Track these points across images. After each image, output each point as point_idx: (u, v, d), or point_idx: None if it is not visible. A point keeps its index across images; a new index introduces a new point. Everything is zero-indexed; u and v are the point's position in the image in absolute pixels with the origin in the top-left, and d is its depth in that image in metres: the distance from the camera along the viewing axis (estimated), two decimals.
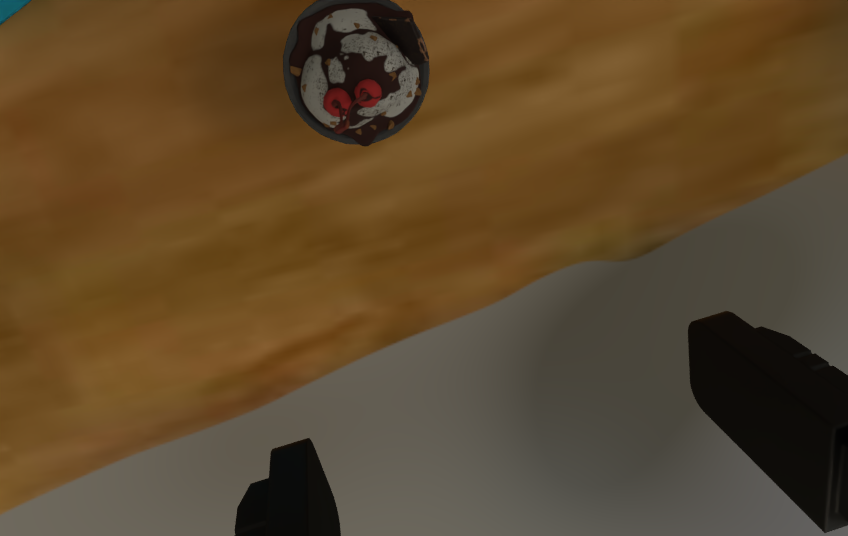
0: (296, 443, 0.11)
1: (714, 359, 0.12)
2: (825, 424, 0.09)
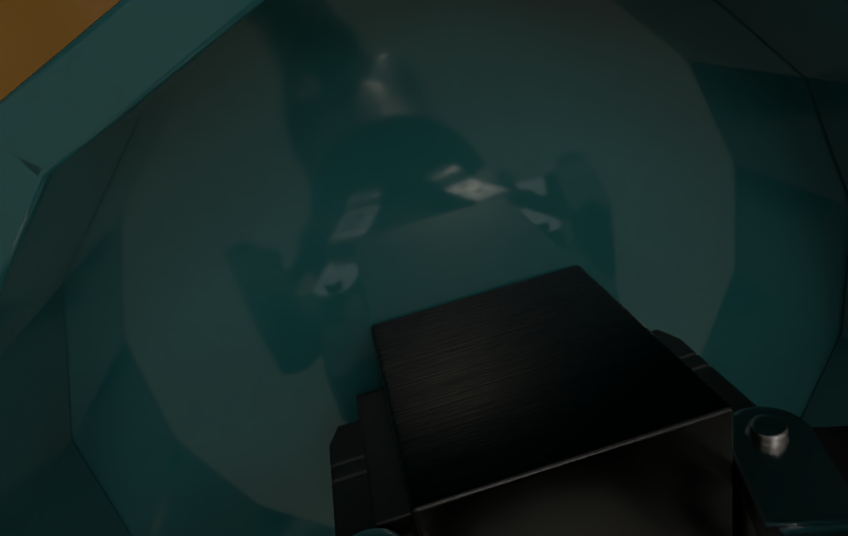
0: (379, 389, 0.12)
1: None
2: None
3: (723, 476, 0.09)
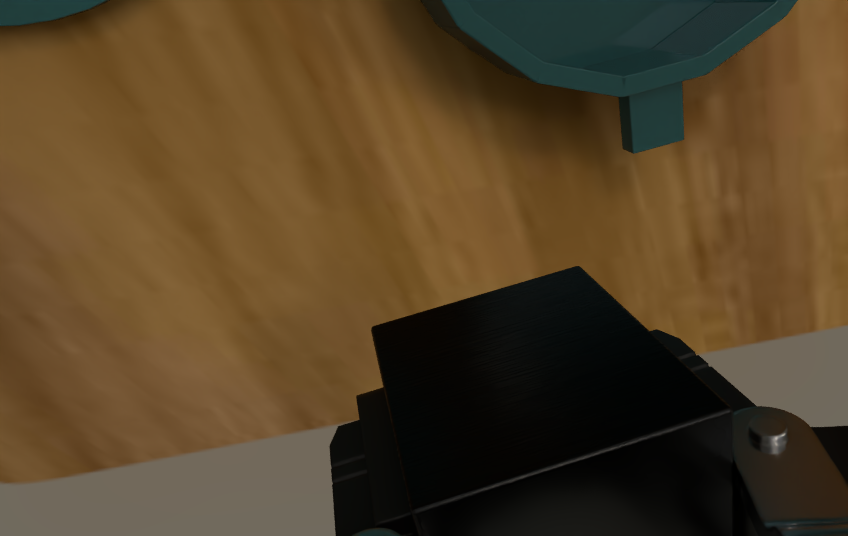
0: (379, 389, 0.12)
1: None
2: None
3: (724, 478, 0.09)
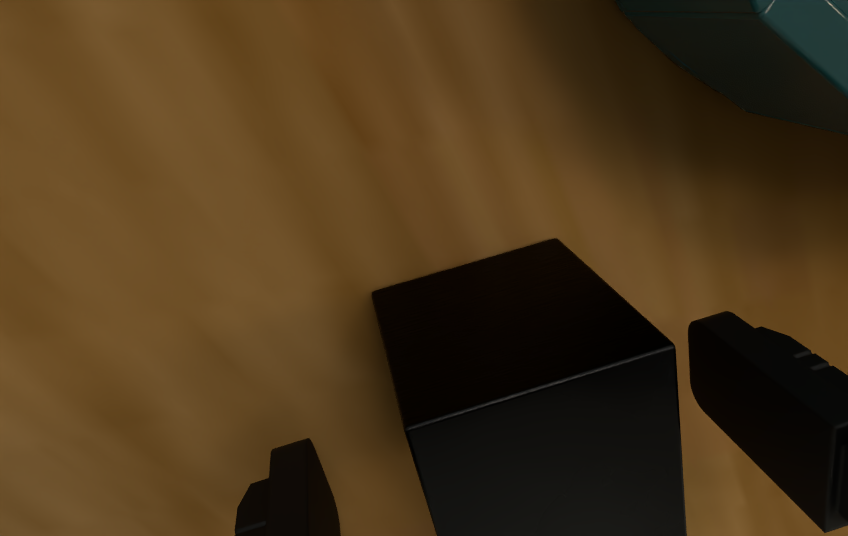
0: (296, 443, 0.11)
1: (714, 359, 0.12)
2: (825, 424, 0.09)
3: (670, 406, 0.10)
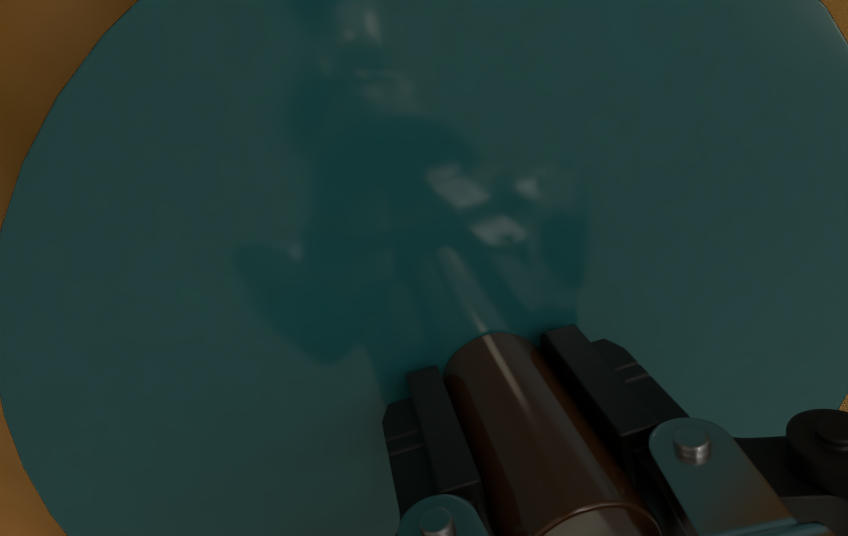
0: (427, 368, 0.12)
1: (556, 369, 0.12)
2: (616, 431, 0.10)
3: None
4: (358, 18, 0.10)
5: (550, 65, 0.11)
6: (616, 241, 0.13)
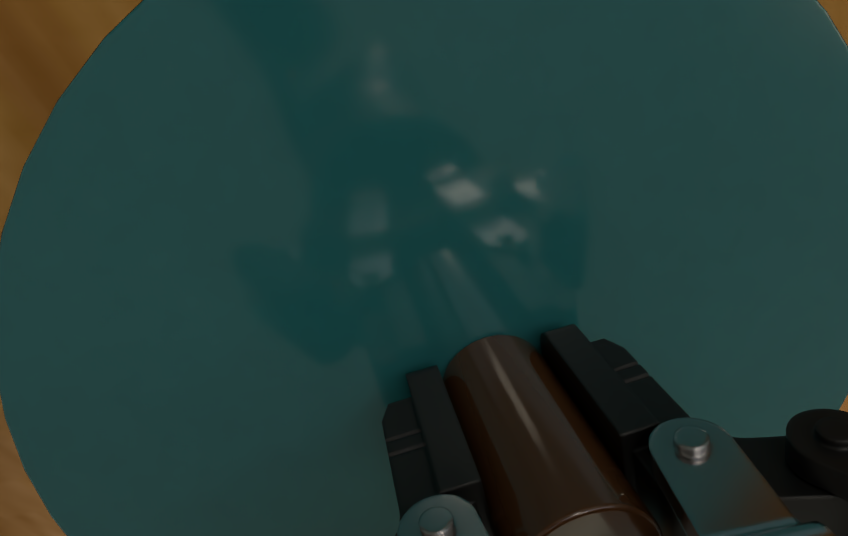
0: (427, 368, 0.12)
1: (556, 369, 0.12)
2: (617, 431, 0.10)
3: None
4: (358, 22, 0.10)
5: (550, 68, 0.11)
6: (616, 243, 0.13)
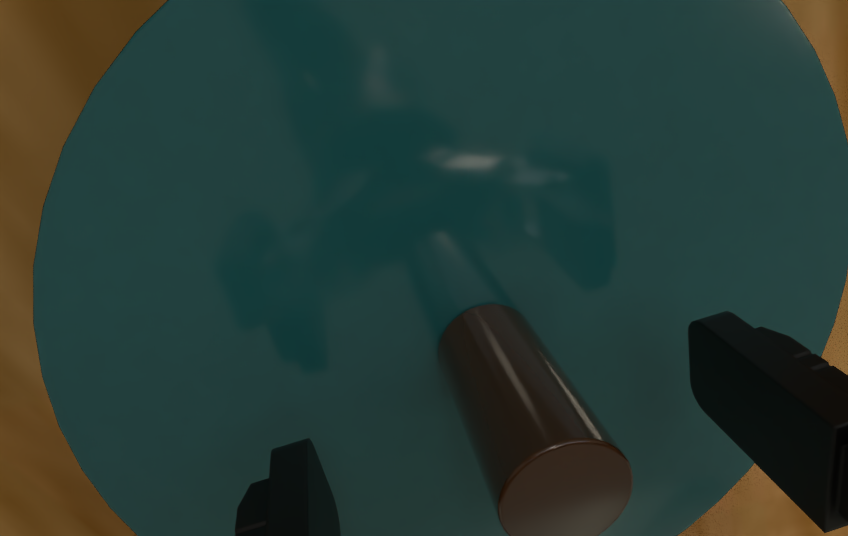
0: (296, 443, 0.11)
1: (714, 359, 0.12)
2: (825, 424, 0.09)
3: None
4: (361, 17, 0.11)
5: (534, 58, 0.12)
6: (597, 219, 0.14)
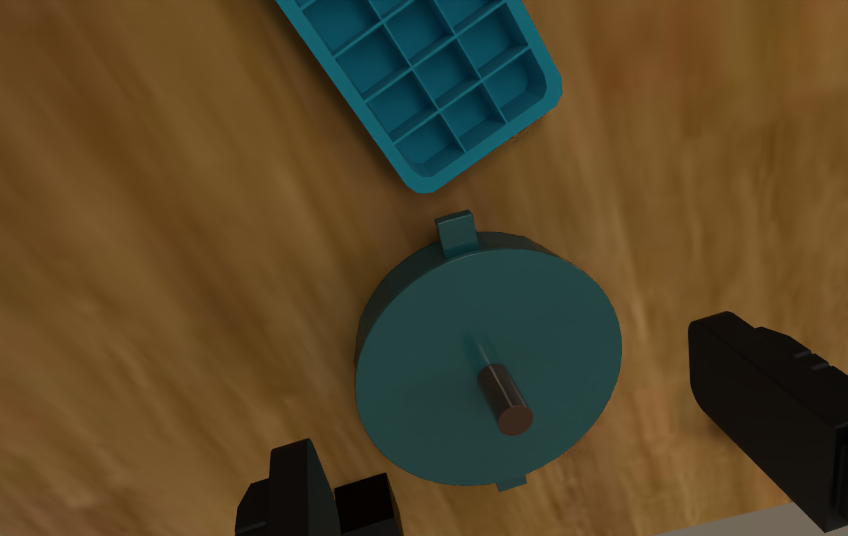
0: (296, 443, 0.11)
1: (714, 359, 0.12)
2: (825, 424, 0.09)
3: (395, 528, 0.47)
4: (458, 286, 0.40)
5: (508, 293, 0.41)
6: (530, 336, 0.42)
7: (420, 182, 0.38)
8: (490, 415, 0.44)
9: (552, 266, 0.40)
